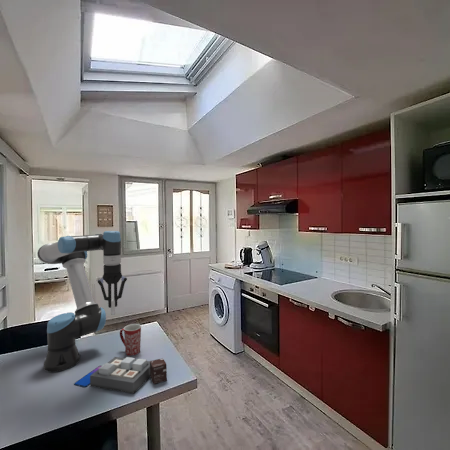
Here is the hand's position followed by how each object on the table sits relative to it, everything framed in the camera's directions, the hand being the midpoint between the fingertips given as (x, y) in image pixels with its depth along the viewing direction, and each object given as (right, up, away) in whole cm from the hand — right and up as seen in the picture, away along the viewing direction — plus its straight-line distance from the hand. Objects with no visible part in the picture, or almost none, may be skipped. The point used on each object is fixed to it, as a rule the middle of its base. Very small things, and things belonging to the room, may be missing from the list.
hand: (112, 313), depth 124 cm
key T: (+7, -24, -11) cm, 28 cm away
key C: (+13, -24, -13) cm, 30 cm away
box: (+24, -26, -9) cm, 36 cm away
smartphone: (-6, -27, -6) cm, 28 cm away
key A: (+3, -24, -3) cm, 24 cm away
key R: (+9, -22, -5) cm, 24 cm away
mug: (+3, -26, +16) cm, 31 cm away
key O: (+2, -22, -10) cm, 24 cm away
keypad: (+8, -26, -8) cm, 28 cm away
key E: (+15, -22, -7) cm, 27 cm away
